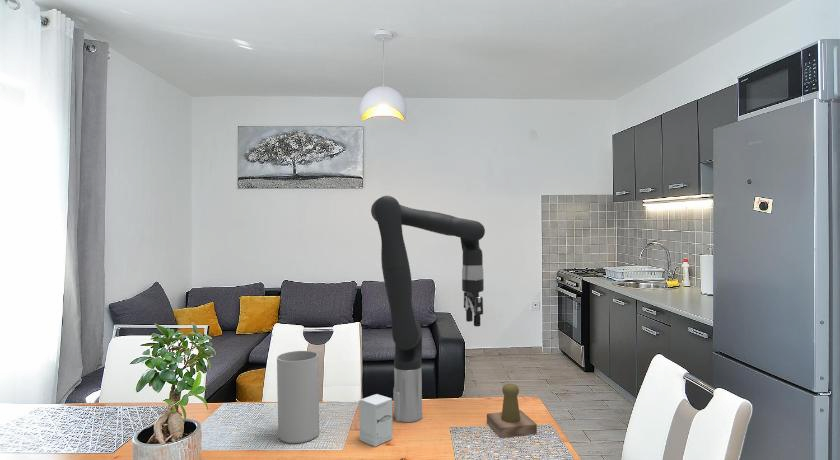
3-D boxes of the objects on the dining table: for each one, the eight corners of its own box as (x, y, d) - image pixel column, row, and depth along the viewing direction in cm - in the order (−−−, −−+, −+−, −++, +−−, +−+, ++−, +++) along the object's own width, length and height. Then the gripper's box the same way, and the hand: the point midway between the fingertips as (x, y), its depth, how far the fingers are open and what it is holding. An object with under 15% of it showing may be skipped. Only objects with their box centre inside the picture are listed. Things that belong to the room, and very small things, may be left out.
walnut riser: (500, 437, 156) (500, 428, 155) (486, 422, 167) (486, 413, 167) (536, 433, 158) (536, 424, 158) (520, 419, 170) (520, 410, 170)
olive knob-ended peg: (520, 423, 159) (520, 388, 159) (500, 422, 160) (500, 387, 160) (520, 416, 165) (520, 382, 165) (501, 414, 166) (501, 381, 166)
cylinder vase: (327, 431, 162) (326, 353, 162) (302, 447, 151) (301, 363, 150) (295, 425, 167) (294, 349, 167) (269, 440, 156) (268, 358, 156)
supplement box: (375, 447, 150) (374, 404, 150) (358, 440, 155) (358, 399, 155) (393, 439, 155) (392, 398, 155) (377, 432, 161) (376, 392, 160)
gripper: (456, 276, 185) (457, 320, 185) (468, 280, 171) (469, 328, 172) (476, 275, 187) (476, 319, 187) (489, 279, 173) (490, 327, 173)
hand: (473, 323), depth 179 cm, fingers open, 8 cm apart
